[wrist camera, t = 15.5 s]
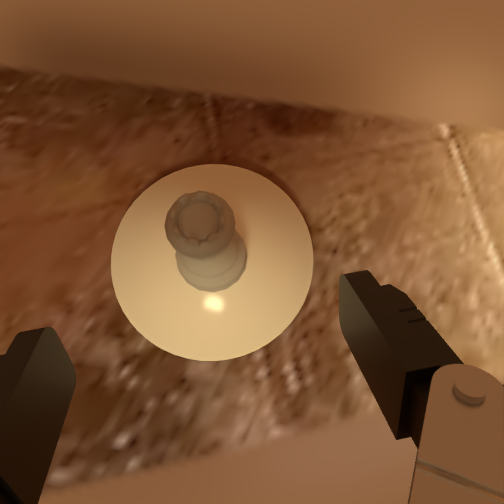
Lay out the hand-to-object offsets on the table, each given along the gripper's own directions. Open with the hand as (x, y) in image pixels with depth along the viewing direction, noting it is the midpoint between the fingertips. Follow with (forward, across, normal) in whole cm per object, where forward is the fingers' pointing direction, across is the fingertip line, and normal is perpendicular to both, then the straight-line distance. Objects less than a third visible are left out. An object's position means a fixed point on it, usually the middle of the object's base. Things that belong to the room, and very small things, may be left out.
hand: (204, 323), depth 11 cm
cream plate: (+13, 0, +6) cm, 15 cm away
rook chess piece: (+13, 0, +6) cm, 14 cm away
